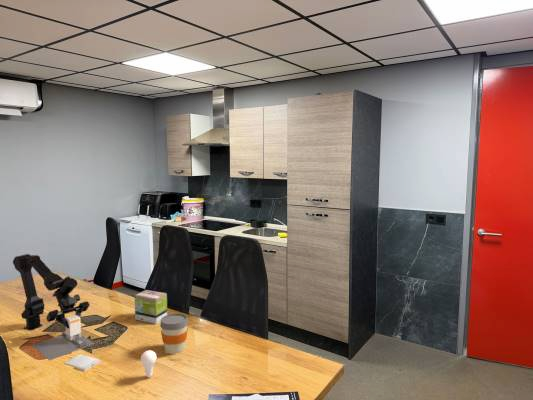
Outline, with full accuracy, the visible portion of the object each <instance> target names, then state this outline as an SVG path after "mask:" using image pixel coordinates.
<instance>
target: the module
mask: <svg viewBox="0 0 533 400" xmlns="http://www.w3.org/2000/svg"><path fill="white" fill-rule="evenodd" d="M65 318H66V320H67V322H68V325H69V328H67V327H65V331H66V338H68V339H69V340H73V336H74V335H76V336H78V337H81V335H82V326H81V325H82V324H81V322H82V321H81V320H82V319H81V320H80V317H79V316H77V315H75V314H72V315H71V316H67V317H66V316H65Z"/></svg>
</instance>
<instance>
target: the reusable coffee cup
mask: <svg viewBox="0 0 533 400" xmlns="http://www.w3.org/2000/svg"><path fill="white" fill-rule="evenodd" d="M188 325H189V319H188V316H187V315H186V314H184V313H169V314H167V315H166V316H164V317H163V318H162V319H161V322H160V328H161V332H160V333H161V339H162V343H163V346H164V351H165V353H166V354H168V353H169V355H177V354H176V353H178V354H181V353H183V352H184V351H185V347H186V340H187V338H188V337H187V336H188ZM183 350H184V351H183ZM180 352H181V353H180Z"/></svg>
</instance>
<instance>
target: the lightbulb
mask: <svg viewBox="0 0 533 400" xmlns="http://www.w3.org/2000/svg"><path fill="white" fill-rule="evenodd" d="M157 359H158V358H157V353H156V352H155V351H153V350H146V351H144V352H143V353H142V354H141V356H140V363H141V364H142V366H143V367H144V368H143V369H144V372H145V376H146V377H147V378H151V377H152V376H153V372H154V371H153V370H154V365H155V364H156V361H157Z"/></svg>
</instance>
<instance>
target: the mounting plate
mask: <svg viewBox="0 0 533 400" xmlns="http://www.w3.org/2000/svg"><path fill="white" fill-rule="evenodd" d="M74 337H76V338H77V339H79V340H80V341H82V342H85V341H86V346H84V347H81V348H79V345H77V344H76V343H75V342H73V341H72V340H69V339H68V338H66V336H62V334H60V335H57V336H53V337H51V338H48V339H45V340H43V341H39V342H36V343H33V344H31V346H32V347H33V348H34V349H36V350H37V351H38V353H41V355H42V356H44V357H45V358H46V359H48V361H52V360H54V359H57V358H61V357H63V356H66V355H68V354H71V353H73V352H77V351H78V350H82V349H84V348H86V347H89V346H92V345H95V342H93V341H92V340H91V339H89V338H87V337H85V336H84V335H83V334H81V337H78V336H76V335H74Z"/></svg>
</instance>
